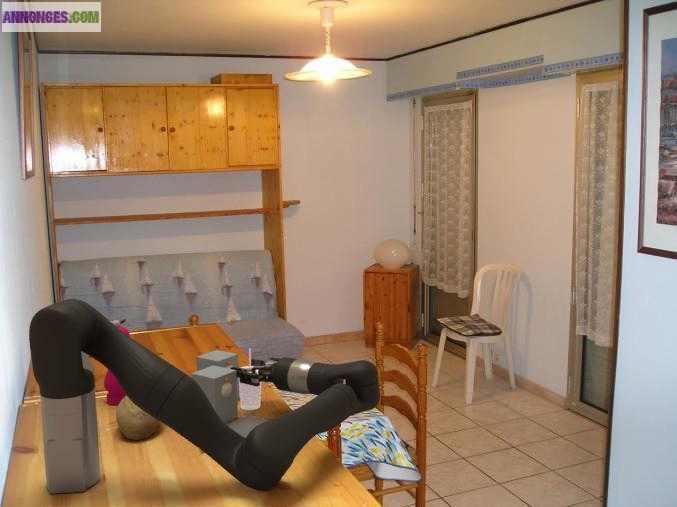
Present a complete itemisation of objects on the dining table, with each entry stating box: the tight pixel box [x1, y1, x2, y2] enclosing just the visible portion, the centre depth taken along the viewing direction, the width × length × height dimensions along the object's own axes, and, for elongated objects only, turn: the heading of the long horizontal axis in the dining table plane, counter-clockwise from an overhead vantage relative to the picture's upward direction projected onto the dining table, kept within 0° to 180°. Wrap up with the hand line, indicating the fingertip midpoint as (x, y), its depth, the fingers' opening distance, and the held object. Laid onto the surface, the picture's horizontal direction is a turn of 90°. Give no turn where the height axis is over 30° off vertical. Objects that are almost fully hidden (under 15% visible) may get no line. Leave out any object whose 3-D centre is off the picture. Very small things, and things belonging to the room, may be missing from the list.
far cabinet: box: [196, 349, 240, 400], centre depth 168 cm, size 8×7×11 cm
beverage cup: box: [239, 347, 262, 411], centre depth 163 cm, size 6×6×14 cm
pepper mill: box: [103, 319, 131, 406], centre depth 168 cm, size 7×7×20 cm
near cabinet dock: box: [190, 365, 269, 438], centre depth 152 cm, size 19×11×11 cm, turn 56°
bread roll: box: [115, 396, 161, 441], centre depth 151 cm, size 10×15×8 cm, turn 18°
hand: (240, 367), depth 164 cm, fingers closed on beverage cup, 6 cm apart
